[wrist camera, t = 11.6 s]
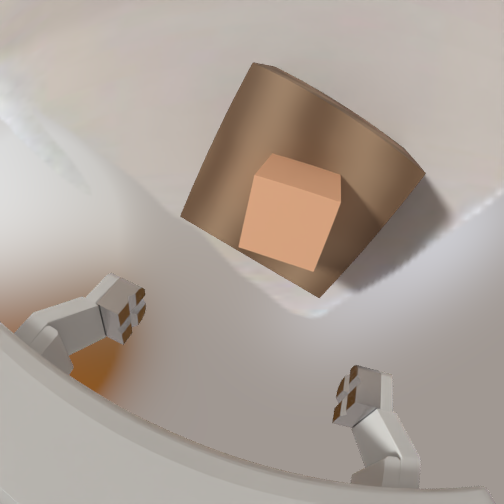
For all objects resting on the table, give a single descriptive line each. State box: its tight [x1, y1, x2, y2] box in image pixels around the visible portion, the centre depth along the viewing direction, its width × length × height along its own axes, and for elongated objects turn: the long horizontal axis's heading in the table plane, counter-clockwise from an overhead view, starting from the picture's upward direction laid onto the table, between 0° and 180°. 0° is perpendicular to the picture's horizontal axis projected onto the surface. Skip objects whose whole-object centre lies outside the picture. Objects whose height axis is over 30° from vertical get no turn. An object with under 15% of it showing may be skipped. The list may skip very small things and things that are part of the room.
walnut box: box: [180, 63, 426, 298], centre depth 25 cm, size 14×14×8 cm
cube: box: [239, 153, 341, 272], centre depth 20 cm, size 5×5×5 cm
